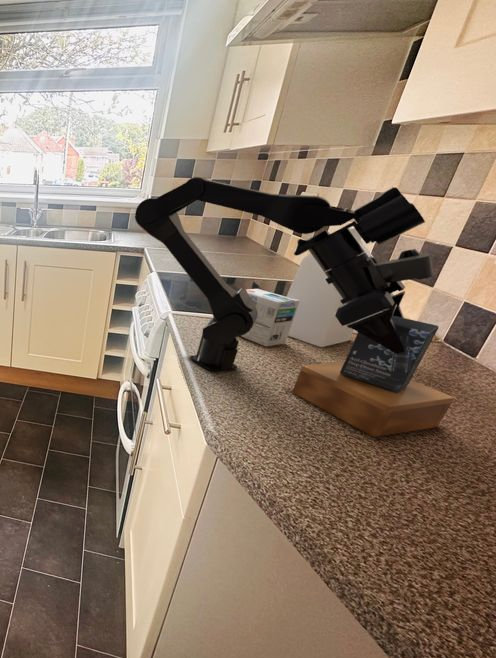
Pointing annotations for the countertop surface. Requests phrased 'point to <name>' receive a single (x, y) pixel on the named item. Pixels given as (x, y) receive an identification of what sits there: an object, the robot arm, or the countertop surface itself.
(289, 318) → the light bulb box
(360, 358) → the box
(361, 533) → the countertop surface
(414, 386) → the wooden plinth
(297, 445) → the countertop surface
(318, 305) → the milk
